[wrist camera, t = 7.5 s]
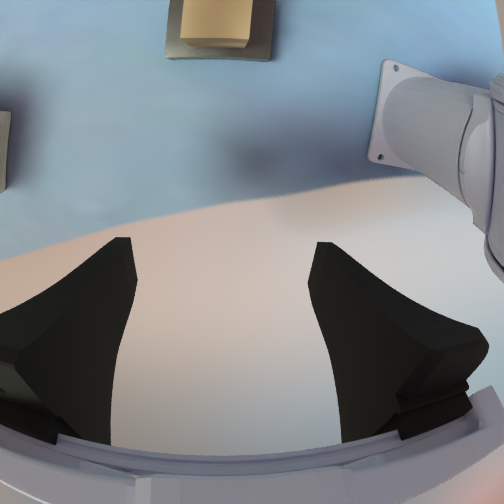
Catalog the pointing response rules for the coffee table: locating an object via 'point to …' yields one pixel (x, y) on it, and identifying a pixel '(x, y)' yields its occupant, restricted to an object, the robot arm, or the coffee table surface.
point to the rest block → (253, 51)
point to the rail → (216, 23)
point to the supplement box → (4, 146)
